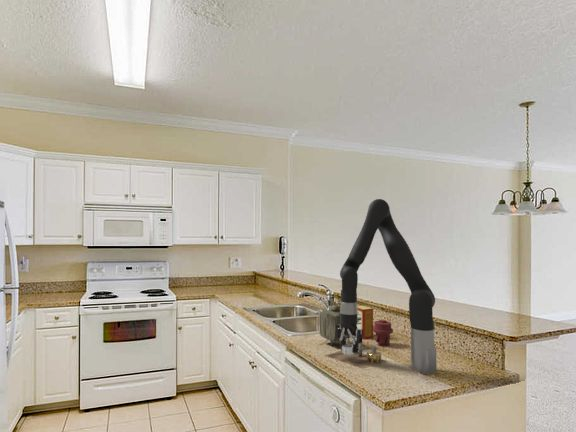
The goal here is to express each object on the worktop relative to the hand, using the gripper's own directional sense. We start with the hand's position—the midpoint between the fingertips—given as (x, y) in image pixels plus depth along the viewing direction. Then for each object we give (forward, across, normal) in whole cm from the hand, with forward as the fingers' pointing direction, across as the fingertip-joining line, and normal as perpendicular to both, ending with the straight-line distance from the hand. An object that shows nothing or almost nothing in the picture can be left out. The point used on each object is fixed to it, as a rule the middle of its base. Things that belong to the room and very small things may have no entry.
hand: (349, 350), depth 171 cm
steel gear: (+1, 0, 0) cm, 1 cm away
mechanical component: (+5, +7, -34) cm, 35 cm away
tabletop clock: (+5, +20, -12) cm, 24 cm away
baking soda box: (+5, +24, -39) cm, 46 cm away
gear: (+4, -7, -8) cm, 12 cm away
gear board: (+5, 0, -4) cm, 7 cm away
